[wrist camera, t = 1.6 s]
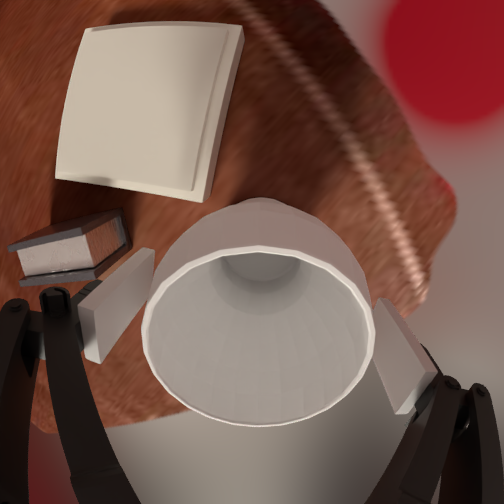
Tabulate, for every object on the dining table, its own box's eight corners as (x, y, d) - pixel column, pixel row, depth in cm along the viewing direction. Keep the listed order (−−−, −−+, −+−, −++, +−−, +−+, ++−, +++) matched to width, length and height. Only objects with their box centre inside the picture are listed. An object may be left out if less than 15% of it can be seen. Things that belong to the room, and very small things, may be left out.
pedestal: (74, 174, 23) (49, 179, 19) (102, 38, 18) (81, 26, 14) (210, 196, 23) (199, 204, 20) (244, 40, 19) (241, 21, 15)
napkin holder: (59, 259, 26) (20, 286, 20) (50, 225, 25) (7, 246, 18) (132, 248, 25) (95, 279, 19) (122, 207, 24) (80, 227, 17)
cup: (237, 156, 22) (193, 163, 8) (344, 221, 24) (435, 312, 10) (180, 261, 26) (106, 376, 11) (280, 314, 27) (291, 450, 13)
